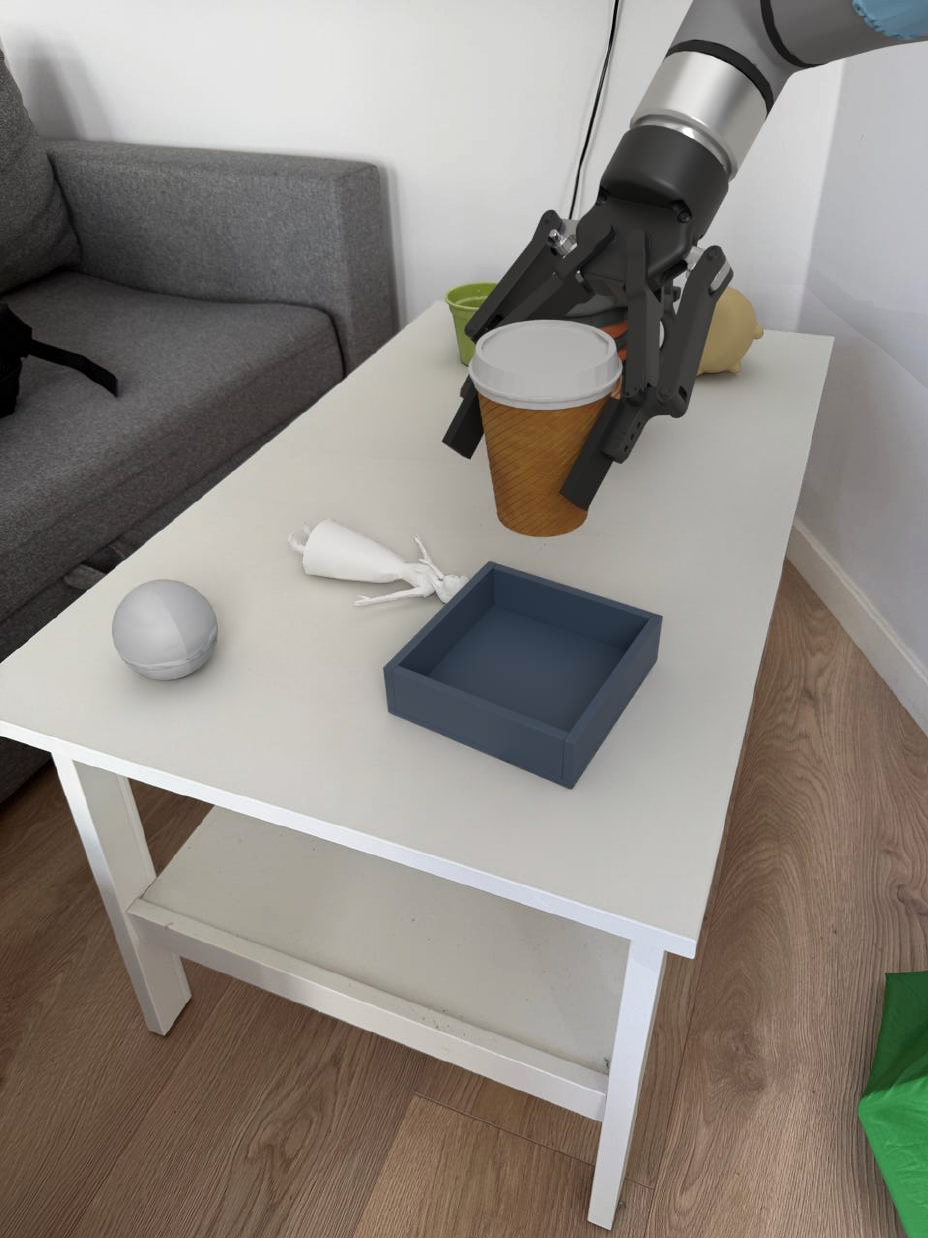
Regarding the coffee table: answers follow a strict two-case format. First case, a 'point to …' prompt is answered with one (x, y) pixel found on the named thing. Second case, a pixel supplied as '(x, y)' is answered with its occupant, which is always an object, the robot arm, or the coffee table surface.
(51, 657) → the coffee table surface
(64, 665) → the coffee table surface
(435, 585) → the woman figurine
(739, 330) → the toy pig
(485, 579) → the bin
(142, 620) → the bath bomb
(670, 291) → the lidded tankard
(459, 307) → the plant pot
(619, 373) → the disposable coffee cup
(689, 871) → the coffee table surface
